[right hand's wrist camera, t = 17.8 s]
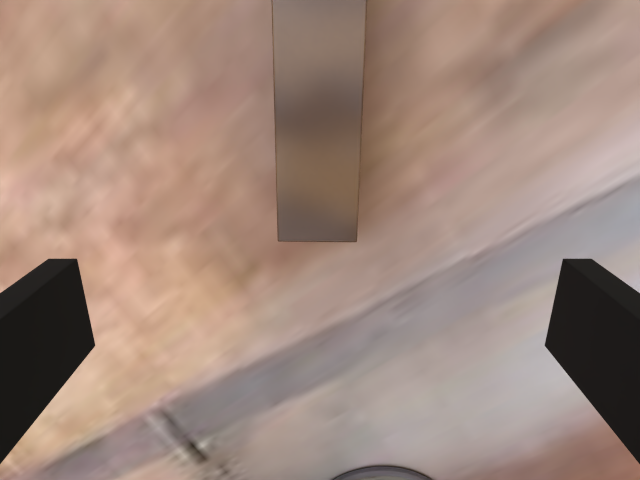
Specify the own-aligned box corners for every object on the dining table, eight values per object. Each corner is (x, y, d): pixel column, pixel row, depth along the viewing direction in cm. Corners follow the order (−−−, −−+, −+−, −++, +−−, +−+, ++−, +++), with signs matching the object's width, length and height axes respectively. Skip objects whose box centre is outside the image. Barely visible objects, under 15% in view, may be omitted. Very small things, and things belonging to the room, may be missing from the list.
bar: (348, 202, 34) (356, 242, 27) (287, 201, 34) (277, 241, 27) (363, -250, 25) (383, -392, 17) (280, -251, 25) (261, -394, 17)
